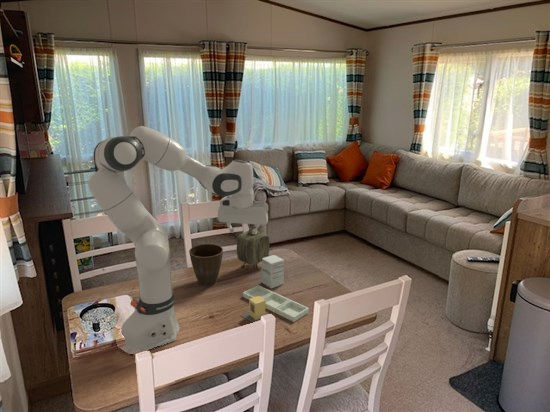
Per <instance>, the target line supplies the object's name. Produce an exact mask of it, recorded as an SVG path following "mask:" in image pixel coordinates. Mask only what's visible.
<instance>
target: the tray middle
mask: <svg viewBox="0 0 550 412" xmlns="http://www.w3.org/2000/svg"><path fill="white" fill-rule="evenodd" d="M272 292H273V293H272V294H270V295H268V296H266V297H264V298H263V299H264V300H265V310H266V309H267V310H269V311H271V312H273V313H274V314H277V313H276V308H278V307H280V306H282V305H283V304H285V303H287V302H288V301H290V300H291V299H290V298H288V297H285V296H283V295H281V294H279V293H277V292H275V291H272Z"/></svg>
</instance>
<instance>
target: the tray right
mask: <svg viewBox="0 0 550 412" xmlns="http://www.w3.org/2000/svg"><path fill="white" fill-rule="evenodd" d="M309 313H310V308H309V307H308V306H306V305H303V304H302V303H298V302H297V301H294V300H292V299H290V301H288V302H287V303H285V304H283V305H282V306H280V307H278V308H276V313H275V314H277V315H278V316H281V317H282V318H284V319H287V320H288V321H290V322H293V323H296V322H297V321H298V320H300V319H302V318H303V317H305V316H306V315H307V314H309Z"/></svg>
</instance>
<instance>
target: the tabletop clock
mask: <svg viewBox="0 0 550 412" xmlns="http://www.w3.org/2000/svg"><path fill="white" fill-rule="evenodd" d="M249 225H250V224H247V228H249V229H248V230H247V231H245V232H243V233H241V234H239V235H238V236H237V240H236V256H237V260H238V261H240V262H243V264H242V265H241V266H240V269H241V270H243V269H244V268H245V267H244V266H245V265H246V264H247V265H254V264H255V269H259V265H258V263H262V258H265V257H268V256H270V237H269V236H268V233H266V232H263V231H260V230H258V229H257V234H256V235H255V234H252V233H253V232H252V230H253V229H255V228H256V227H255V224H251V225H252V226H249Z"/></svg>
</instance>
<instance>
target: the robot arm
mask: <svg viewBox="0 0 550 412" xmlns="http://www.w3.org/2000/svg"><path fill="white" fill-rule="evenodd" d="M92 154H93V162H94V170H95V172H94V173H93V174H92V175H91V176H90V178H88V183H87V184H88V185H87V186H88V188H89V190H90V193H91V194H92V197H93V198H94V199H95V201H96V203H97V204H98V206H99V207H100V209H101V210H102V211H103V212H104V214H105V215H106V216H107V217H108V219H109V221H110V222H111V223H112V224H113V225H114V226H115V228H116V229H117V230H118V231H120V232H122V233H123V234H124V235H125V236H126V237H127V238H128V239H129V240H131V242H132V243H133V245H134V248H135V249H134V256H135V264H136V265H135V266H136V272H137V277H138V286H139V288H138V289H139V297H138V301H136V300H135V299H133V300H131V301H130V306H131V307H132V308H136V309H135V310H134V311H133V312H132V313H131V314H130V316H129V317H128V318H126V319H125V321H124V322H123V323H122V325H121V333H122V335H123V336H124V337H125V343H126V346H123V347H120V348H121V349H122V350H124V351H125V352H128V353H135V354H136V351H137V353H138V352H142V351H146V350H149V349H152V348H154V347H157V346H160V345H162V346H164V344H165V345H168V344H170V343H172V342H175V341H176V340H177V335H178V333H179V331H180V325H179V322H178V319H177V315H176V312H175V296H174V292H173V285H172V284H173V283H172V282H173V281H172V267H171V251H170V243H169V236H168V233H167V232H166V229H164V227H163V226H162V225H161V224H160V223H159V221H158V220H157V219H155V218H154V216H153V215H152V214H151V213H150V212H149V211H148V210H147V209H146V207H145V206H144V205H143V203H142V202H141V200H140V199H139V198H138V196H137V195H136V194H135V193H134V190H132V188H131V187H130V186H129V184H128V183H127V181H126V179H125V172H127V171H129V170H132V169H133V168H135V166H137V165H138V164H139V162H140V161H141V160H143V161H145V162H147V163H149V164H151V165H152V166H156V167H157V168H159V169H162V170H165V171H169V172H175V171H179V172H183V173H184V174H187V175H189V176H190V177H192V178H194V179H195V180H196V181H198V183H199V184H200V185H201V187H203V189H205V190H207V191H210V192H211V193H213V194H215V195H216V196H219V197H222V198H221V199H220V200H219V207H218V209H217V221H218V222H219V223H226V226H227V228H228V230H229V233H230V234H234V232H235V227H232V224H243V225H244V224H245V225H248V224H249V225H254V226H255V227H254V228H255V229H253V230H252V232H253V233H252V234H255V235H256V234H257V230H258V229H259V227H260V226H266V224H268V222H269V213H268V212H269V204H268V203H267V202H265V201H257V200H254V199H255V197H254V196H255V191H254V183H255V182H254V169H253V165H252V164H251V163H250V162H249V161H247V160H242V159H233V160H232V161H231V162H230V163H229V164H228V165H226V166H225V167H223V168H220V167H219V166H216V165H211V164H205V163H201V162H200V161H198V160H196V159H195V158H192V156H189V155H188V154H187V152H186V149H185V147H184V146H182V145H181V144H180V143H179V142H178V141H177V140H176V139H174V138H172V137H170V136H168V135H167V134H165V133H163V132H160V131H159V130H156V129H153V128H151V127H147V126H145V125H139V126H137V127H135V128H134V129H133V130H132V131H131V132H130V134H129V136H121V135H119V136H116V137H109V138H106V139H104V140H102V141H100V142H98V143H97V144H96V146H95V147H94V149H93V153H92ZM121 333H120V334H121ZM167 343H168V344H167ZM160 347H161V346H160ZM157 348H158V347H157ZM154 349H155V348H154ZM129 350H132V351H129ZM152 350H153V349H152ZM149 351H150V350H149Z"/></svg>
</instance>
